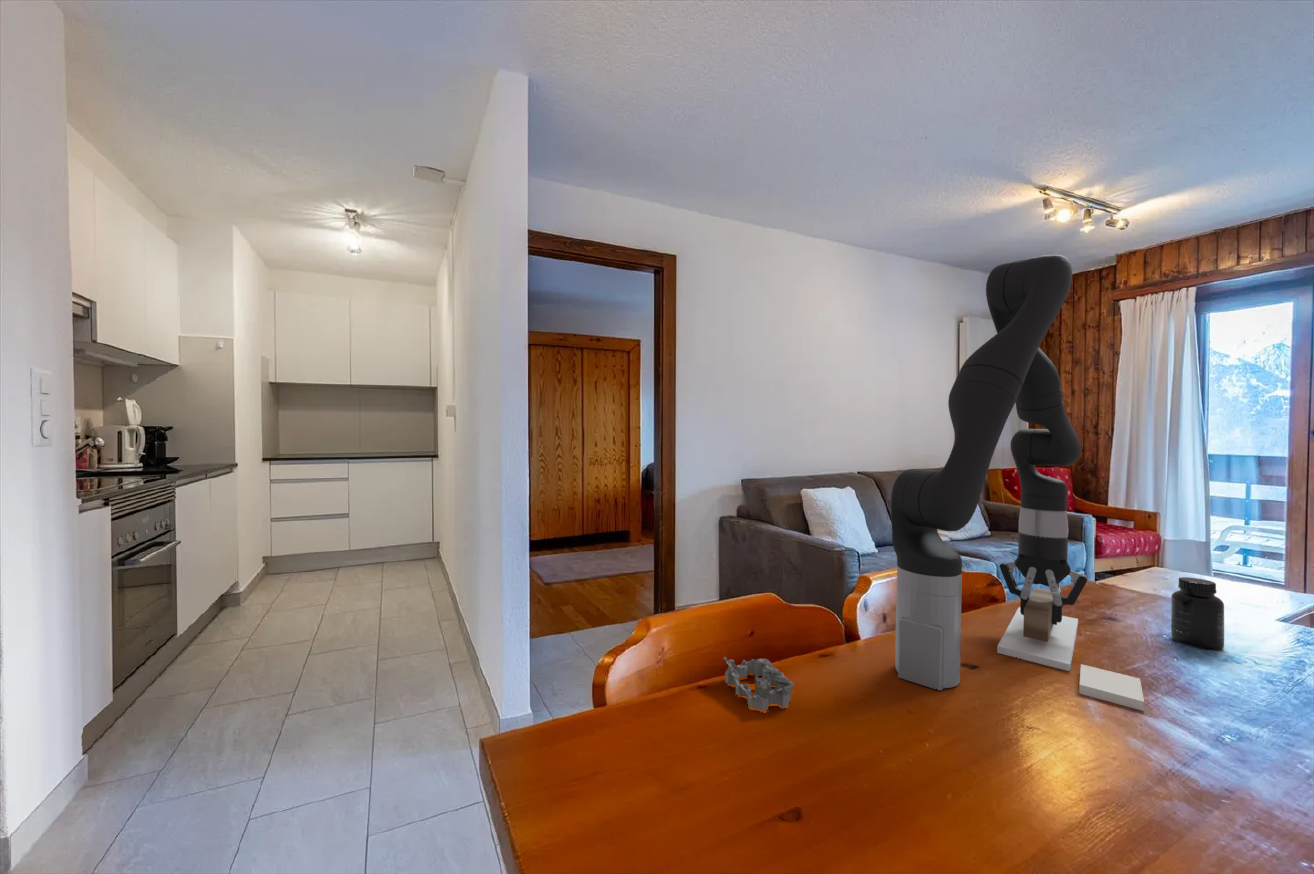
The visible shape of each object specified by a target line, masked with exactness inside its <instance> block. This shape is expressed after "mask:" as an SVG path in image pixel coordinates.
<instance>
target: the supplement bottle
mask: <svg viewBox="0 0 1314 874" xmlns="http://www.w3.org/2000/svg"><path fill="white" fill-rule="evenodd" d="M1177 587H1178V589H1179V590H1177V591H1174V592H1172V594H1171V597H1170V602H1171V603H1170V605H1171V606H1170V607H1171V608H1170V612H1171V613H1170V614H1171V617H1170V618H1171V620H1170V621H1171V622H1170V624H1171V626H1170V631H1171V632H1170V634H1171V638H1172V639H1173V640H1175V641H1176V642H1177V643H1180V644H1181V645H1184V646H1189V647H1191V648H1196V649H1201V650H1209V651H1220V650H1222V649H1224V647H1225V604H1224V602H1223V600H1222V599H1220V598H1219V597H1218V596H1216V594H1217V588H1216V587H1217V583H1216V582H1214V581H1212V580H1207V579H1204V578H1203V579H1202V578H1197V577H1196V578H1195V577H1182V576H1181V577H1179V578H1178V585H1177Z"/></svg>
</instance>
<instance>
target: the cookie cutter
mask: <svg viewBox="0 0 1314 874" xmlns="http://www.w3.org/2000/svg"><path fill="white" fill-rule="evenodd" d="M722 660H723V661H726V664H727V665H728V668H727V669H726V671H725V672H724V680H725V684H726V683H727V684H728V685H729V684H731V685H735V686H736V688H735V692H736V693H737V694H738V695H739V696H746V697H747V698H748V700H747V699H746V700H747V704H748V706H749V707H751V708H755V709H759V710H762V711H763V710H768V711H769V708H768V705H770V704H778V705H781V706H782V707H786V706H789V707H790V703H789V700H791V701H792V687H793V686H794V685H795V684H796V682H793V681H791V680H790V679H788V677H787V676H785V674H784V672H782V671H780V670H779V669H778V668H776V667H775V666H774V665H773V663H772V662H771V661H770V660H769V659H768V658H758V659H753V658H751V660H749V661H746V660H745V659H743V660H742V661H741V664H738V665H736V663H735V660H734V659H728V658H727V657H726V656H723V657H722ZM751 673H752V674H753V675H755V676H762V677H755V676H754V684H755V691H754V692H753V693H752V691H751V688H750V684H747V683H746V684H747V686H745V683H743V684H742V683H740V680H739V678H747V679H748V676H747V674H751ZM753 675H752V676H753ZM771 686H775V688H771ZM736 693H735V694H736ZM747 704H746V705H747Z"/></svg>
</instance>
